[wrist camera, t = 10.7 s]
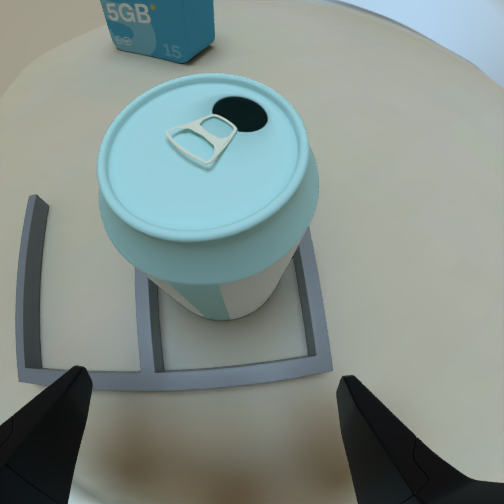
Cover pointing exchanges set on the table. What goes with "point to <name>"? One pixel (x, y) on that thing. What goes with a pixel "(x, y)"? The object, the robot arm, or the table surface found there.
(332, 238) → the table surface
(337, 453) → the table surface
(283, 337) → the table surface
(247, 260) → the can
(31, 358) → the grey flat frame
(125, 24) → the data package
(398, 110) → the table surface
